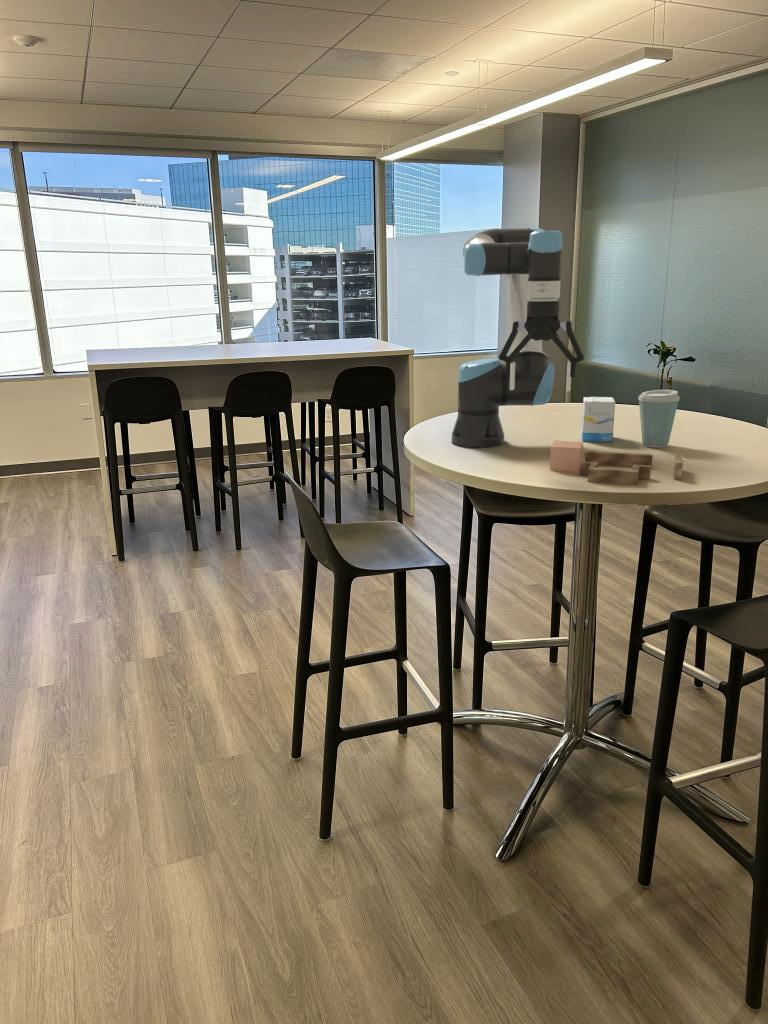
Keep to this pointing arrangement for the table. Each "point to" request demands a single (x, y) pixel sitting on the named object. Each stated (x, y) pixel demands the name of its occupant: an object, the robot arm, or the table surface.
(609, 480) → the open wooden frame
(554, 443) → the block
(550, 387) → the robot arm
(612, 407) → the ink box
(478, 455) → the table surface
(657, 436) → the disposable coffee cup
